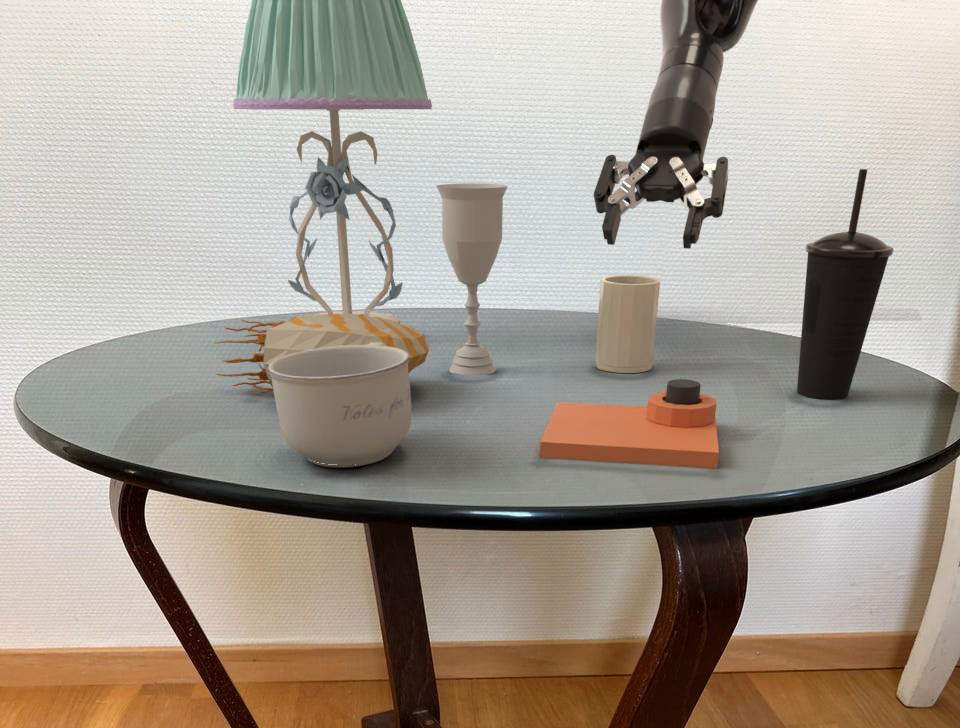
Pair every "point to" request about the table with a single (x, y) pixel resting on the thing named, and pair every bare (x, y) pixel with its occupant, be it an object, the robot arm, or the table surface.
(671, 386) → the button
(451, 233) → the chalice
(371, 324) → the nautilus
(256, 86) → the table lamp
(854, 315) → the drinking cup
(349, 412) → the teacup
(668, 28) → the robot arm
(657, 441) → the scale
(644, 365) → the cup
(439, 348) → the table surface
